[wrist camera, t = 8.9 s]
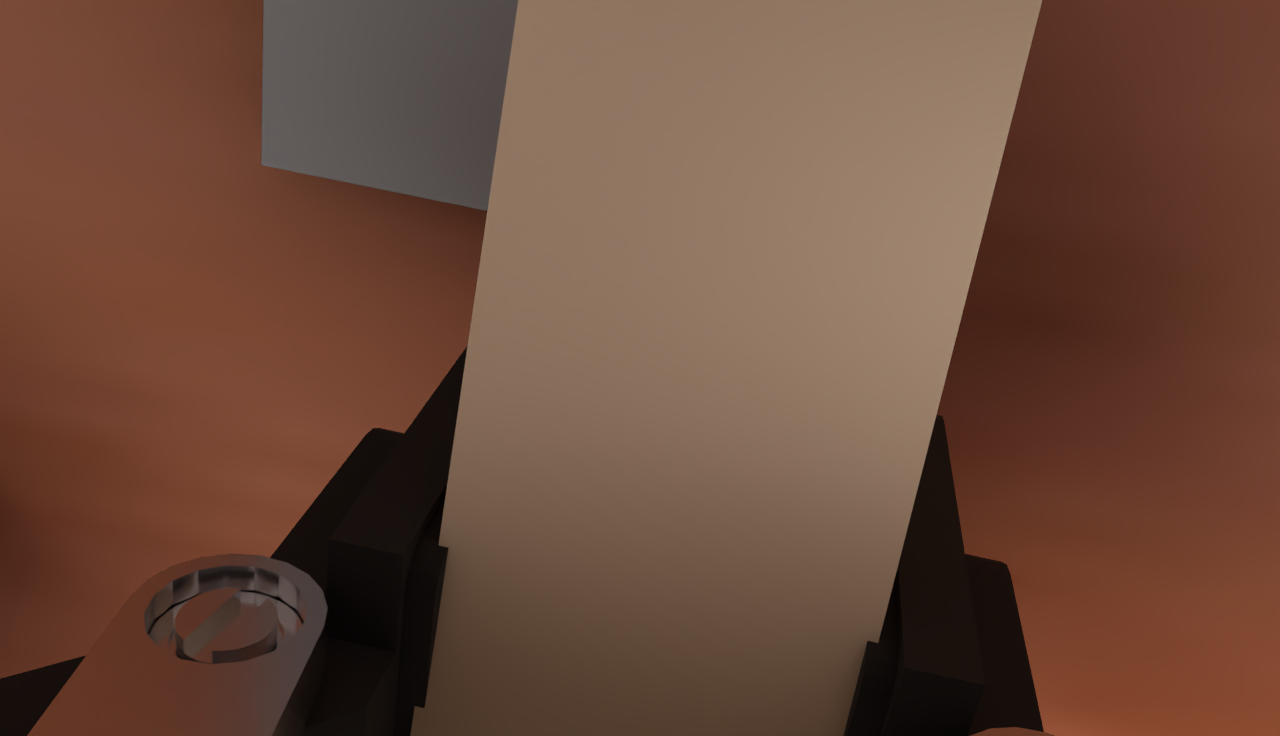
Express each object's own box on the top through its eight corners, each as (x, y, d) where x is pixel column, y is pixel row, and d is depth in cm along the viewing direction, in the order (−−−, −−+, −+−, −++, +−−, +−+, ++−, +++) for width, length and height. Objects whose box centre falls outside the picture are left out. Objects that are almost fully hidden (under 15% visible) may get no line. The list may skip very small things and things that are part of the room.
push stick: (656, -127, 12) (559, -275, 7) (963, -73, 11) (1090, -187, 6) (479, 904, 15) (325, 1310, 10) (720, 962, 14) (682, 1408, 10)
